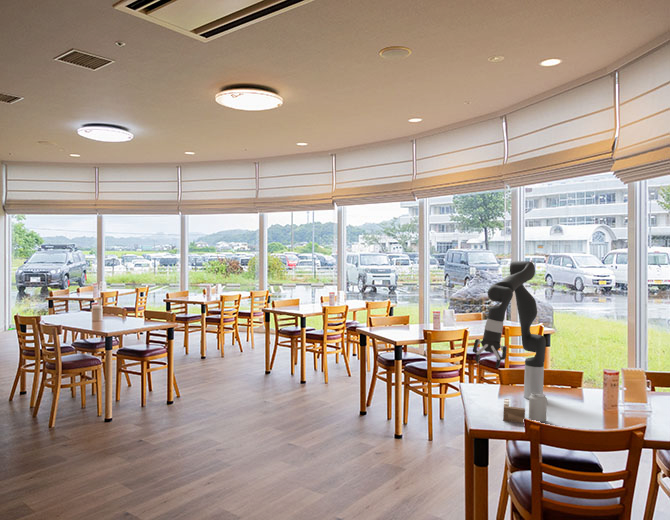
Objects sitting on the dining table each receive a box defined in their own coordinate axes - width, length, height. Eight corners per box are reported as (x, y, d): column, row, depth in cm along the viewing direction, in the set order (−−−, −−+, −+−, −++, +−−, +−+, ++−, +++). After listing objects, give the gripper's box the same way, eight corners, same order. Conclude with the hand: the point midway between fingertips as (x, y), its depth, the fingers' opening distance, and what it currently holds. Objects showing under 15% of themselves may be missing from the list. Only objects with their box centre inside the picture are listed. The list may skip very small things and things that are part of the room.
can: (525, 417, 232) (526, 391, 232) (541, 417, 233) (542, 391, 233) (533, 423, 225) (534, 396, 224) (549, 423, 225) (550, 396, 225)
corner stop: (504, 411, 240) (504, 397, 240) (524, 413, 237) (524, 399, 237) (503, 420, 227) (503, 406, 227) (524, 423, 224) (525, 408, 224)
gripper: (511, 333, 226) (504, 368, 226) (479, 326, 233) (473, 360, 233) (508, 334, 219) (501, 370, 219) (475, 326, 226) (469, 362, 227)
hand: (486, 365), depth 226 cm, fingers open, 8 cm apart
